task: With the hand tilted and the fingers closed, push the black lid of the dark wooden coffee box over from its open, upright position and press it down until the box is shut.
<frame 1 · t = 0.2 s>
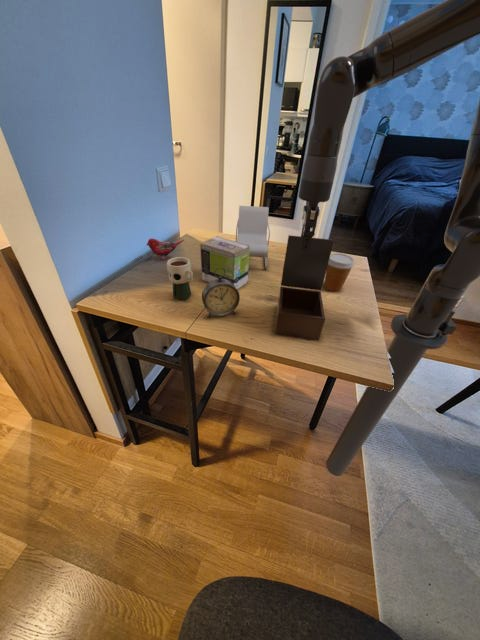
hand: (304, 244, 71), 23 cm above the table, tool pointing down, fingers open, 8 cm apart
character mug: (182, 297, 89), on the table
tea box: (224, 281, 99), on the table
lid: (305, 264, 77), point 16 cm above the table, hinge at 95.0°
decorative bird figurine: (168, 258, 113), on the table
coffee box: (296, 322, 81), on the table
alarm clock: (220, 314, 82), on the table
chair: (250, 258, 117), on the table
disposable coffee cup: (332, 288, 99), on the table
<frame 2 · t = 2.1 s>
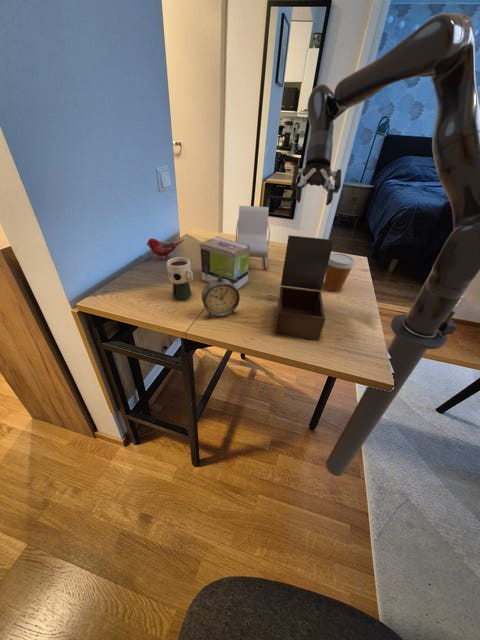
hand: (313, 202, 77), 31 cm above the table, tool tilted 45°, fingers open, 8 cm apart
nothing on the table moved.
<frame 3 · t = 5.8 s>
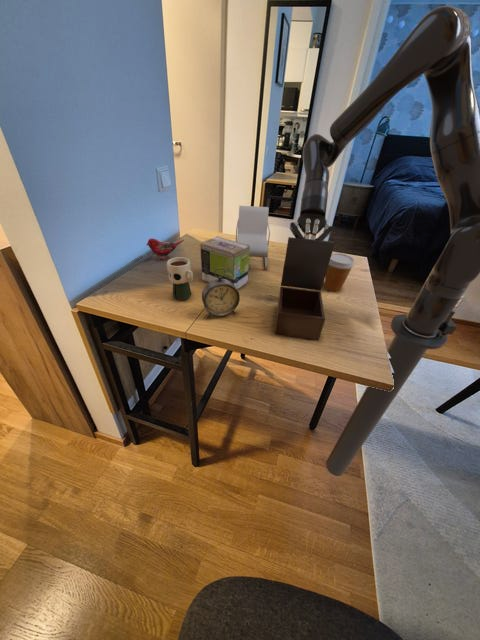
hand: (307, 256, 76), 19 cm above the table, tool tilted 45°, fingers closed
lid: (305, 265, 76), point 16 cm above the table, hinge at 88.0°, touching gripper
everything else where it was.
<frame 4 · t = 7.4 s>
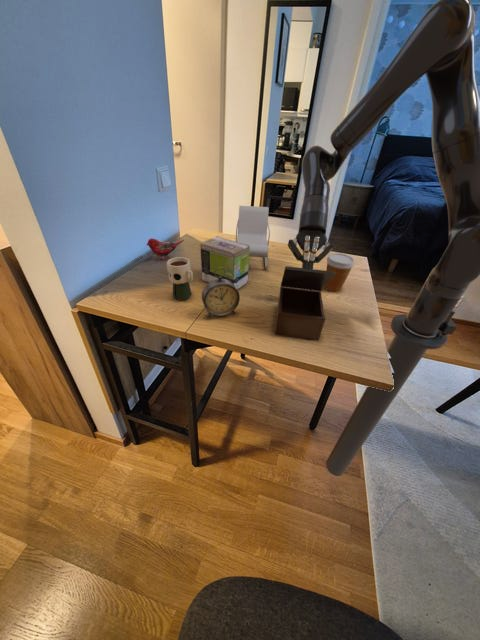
hand: (306, 275, 71), 16 cm above the table, tool tilted 45°, fingers closed
lid: (304, 279, 74), point 14 cm above the table, hinge at 46.4°, touching gripper
everything else where it was.
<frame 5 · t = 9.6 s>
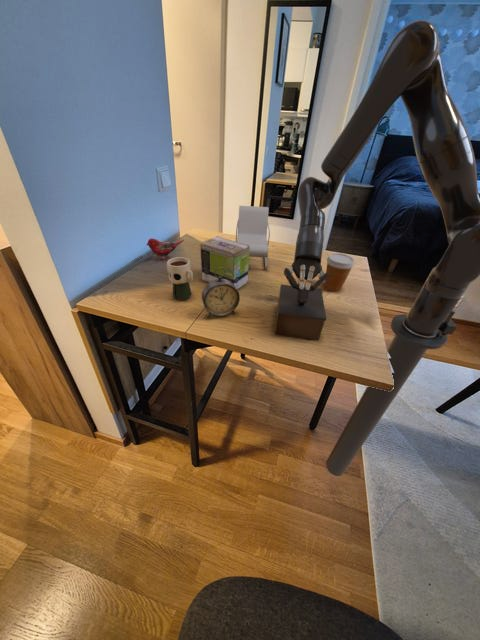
hand: (301, 303, 72), 9 cm above the table, tool tilted 45°, fingers closed
lid: (301, 301, 75), point 8 cm above the table, hinge at -0.2°, touching coffee box, gripper
everything else where it was.
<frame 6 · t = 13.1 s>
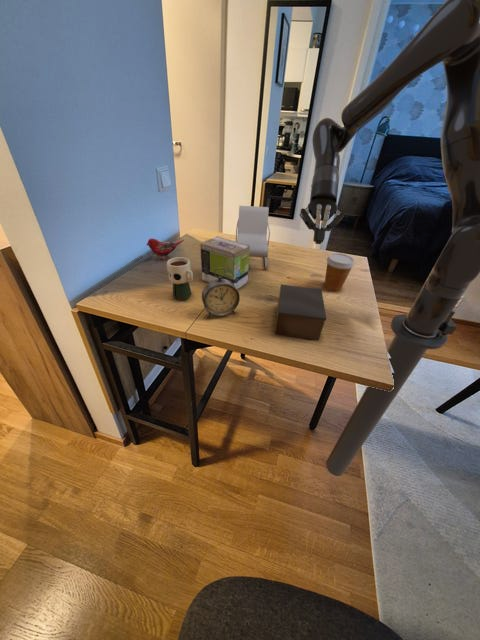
hand: (318, 242, 74), 22 cm above the table, tool tilted 45°, fingers closed
lid: (301, 301, 75), point 8 cm above the table, hinge at -0.2°, touching coffee box
everything else where it was.
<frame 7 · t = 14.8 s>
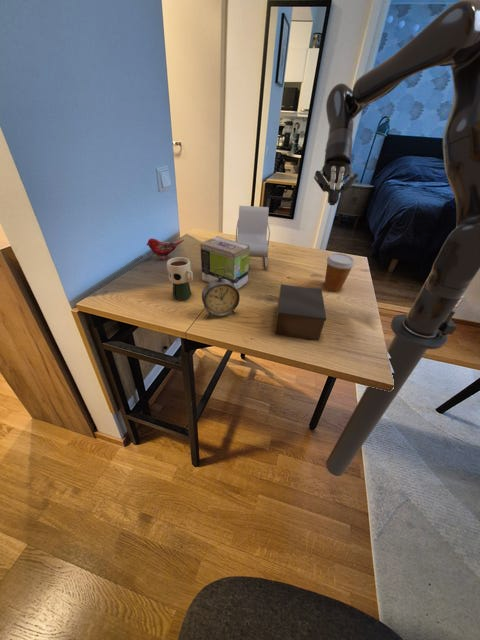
hand: (332, 203, 76), 31 cm above the table, tool tilted 45°, fingers closed
nothing on the table moved.
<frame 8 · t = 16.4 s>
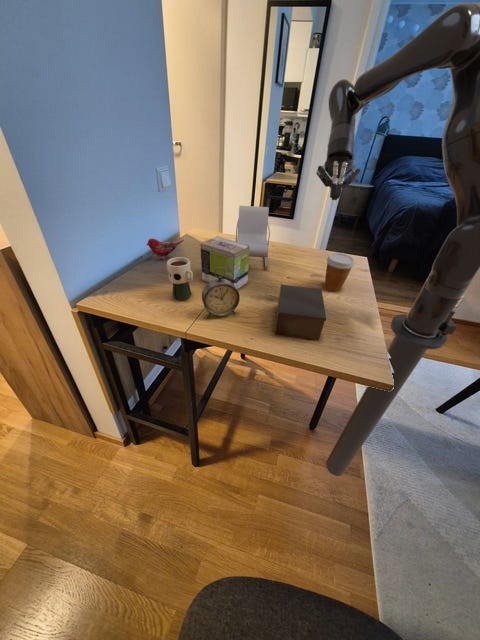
hand: (335, 198, 77), 32 cm above the table, tool tilted 45°, fingers closed
nothing on the table moved.
at the end: lid at +0° (first picture: +95°) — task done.
